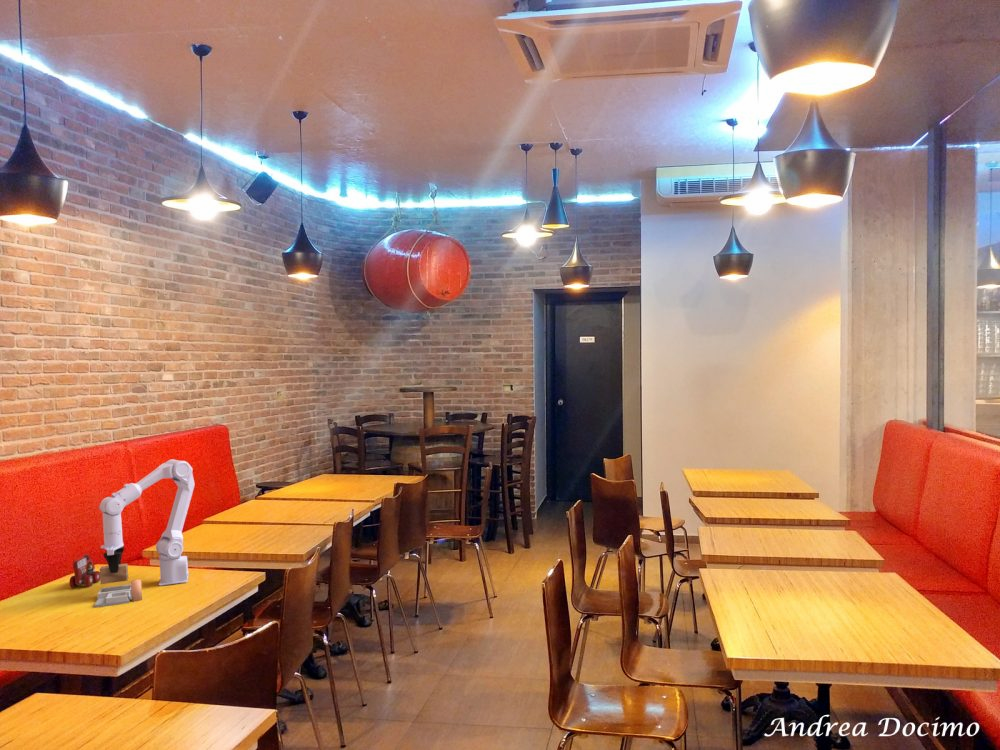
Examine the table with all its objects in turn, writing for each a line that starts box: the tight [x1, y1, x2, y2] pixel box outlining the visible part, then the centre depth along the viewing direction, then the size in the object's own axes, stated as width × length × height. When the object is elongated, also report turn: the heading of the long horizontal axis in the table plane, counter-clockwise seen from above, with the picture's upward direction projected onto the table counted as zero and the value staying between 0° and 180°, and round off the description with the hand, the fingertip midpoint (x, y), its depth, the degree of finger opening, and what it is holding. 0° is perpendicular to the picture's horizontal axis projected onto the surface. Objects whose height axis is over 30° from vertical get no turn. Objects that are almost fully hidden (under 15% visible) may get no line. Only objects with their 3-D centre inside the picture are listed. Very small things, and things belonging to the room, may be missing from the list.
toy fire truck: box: [68, 554, 100, 588], centre depth 285 cm, size 7×12×10 cm, turn 0°
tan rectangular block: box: [99, 563, 129, 585], centre depth 270 cm, size 8×3×5 cm, turn 108°
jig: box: [93, 583, 132, 608], centre depth 266 cm, size 10×14×3 cm
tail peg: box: [130, 579, 143, 602], centre depth 264 cm, size 3×3×6 cm
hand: (115, 571), depth 270 cm, fingers closed on tan rectangular block, 3 cm apart
